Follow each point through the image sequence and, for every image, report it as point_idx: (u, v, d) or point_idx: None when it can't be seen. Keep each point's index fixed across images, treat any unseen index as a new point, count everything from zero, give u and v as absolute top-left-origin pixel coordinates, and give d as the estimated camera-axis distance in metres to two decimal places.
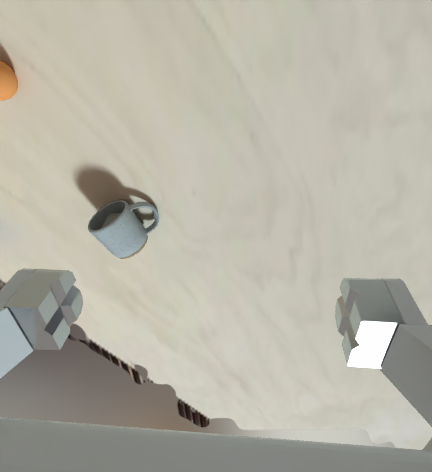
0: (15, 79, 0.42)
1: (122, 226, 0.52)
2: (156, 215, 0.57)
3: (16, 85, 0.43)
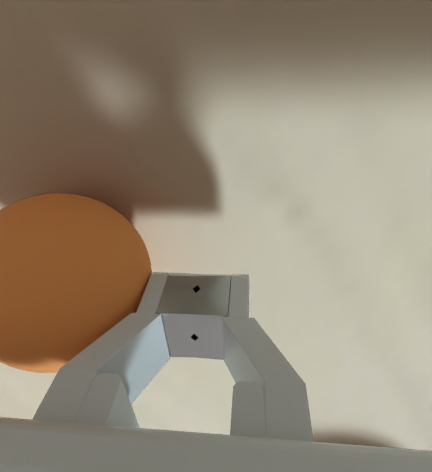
0: None
1: None
2: None
3: None
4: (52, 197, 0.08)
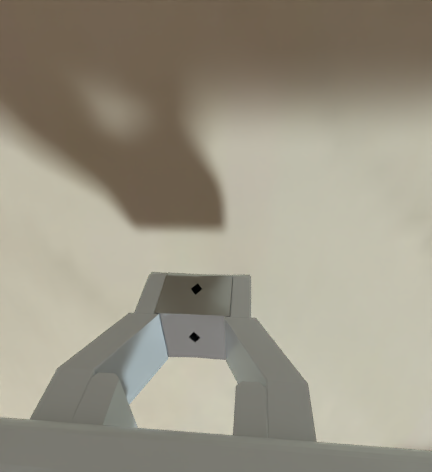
0: None
1: None
2: None
3: None
4: None
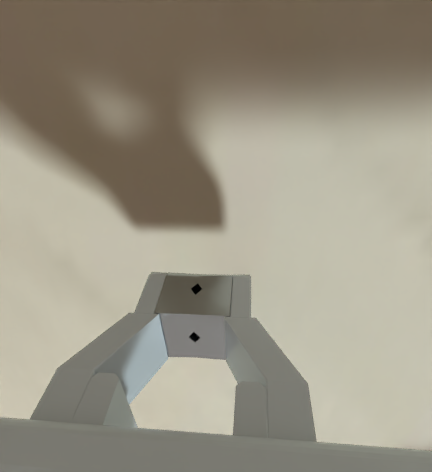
0: None
1: None
2: None
3: None
4: None
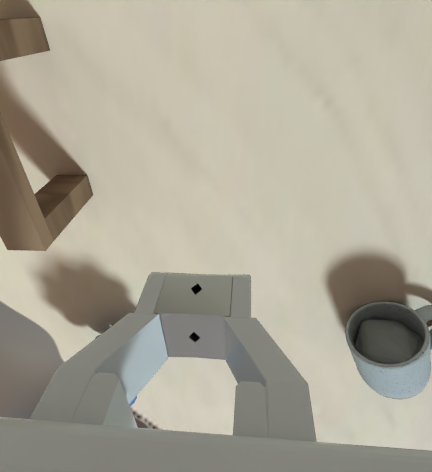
0: None
1: (428, 355, 0.31)
2: None
3: None
4: None
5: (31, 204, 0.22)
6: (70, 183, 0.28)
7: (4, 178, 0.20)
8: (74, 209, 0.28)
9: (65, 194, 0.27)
